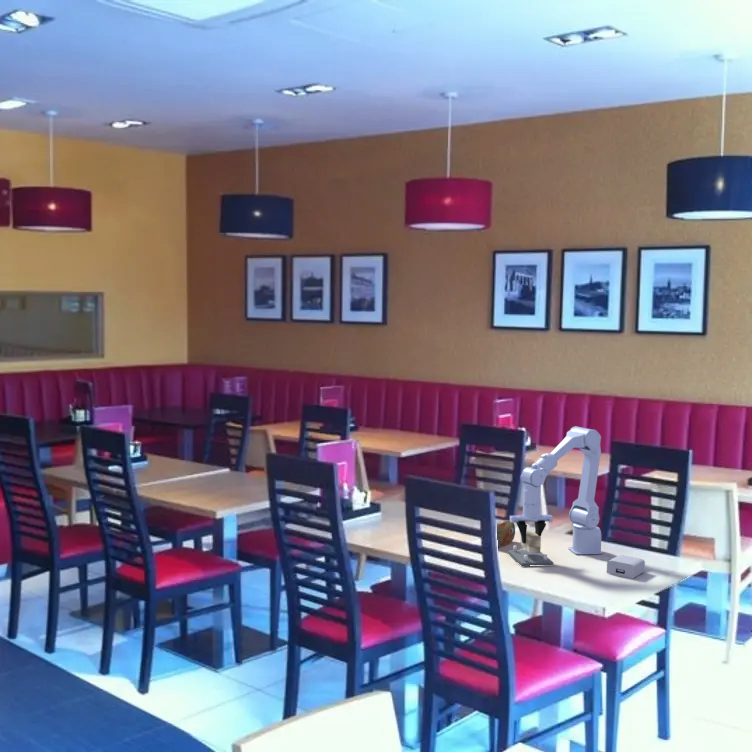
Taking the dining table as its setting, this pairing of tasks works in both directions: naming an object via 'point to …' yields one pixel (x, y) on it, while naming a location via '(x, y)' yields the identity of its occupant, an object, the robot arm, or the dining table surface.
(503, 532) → the tin
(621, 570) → the charger
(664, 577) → the dining table surface
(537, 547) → the birch block
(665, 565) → the dining table surface
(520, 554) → the standoff plate
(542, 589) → the dining table surface
